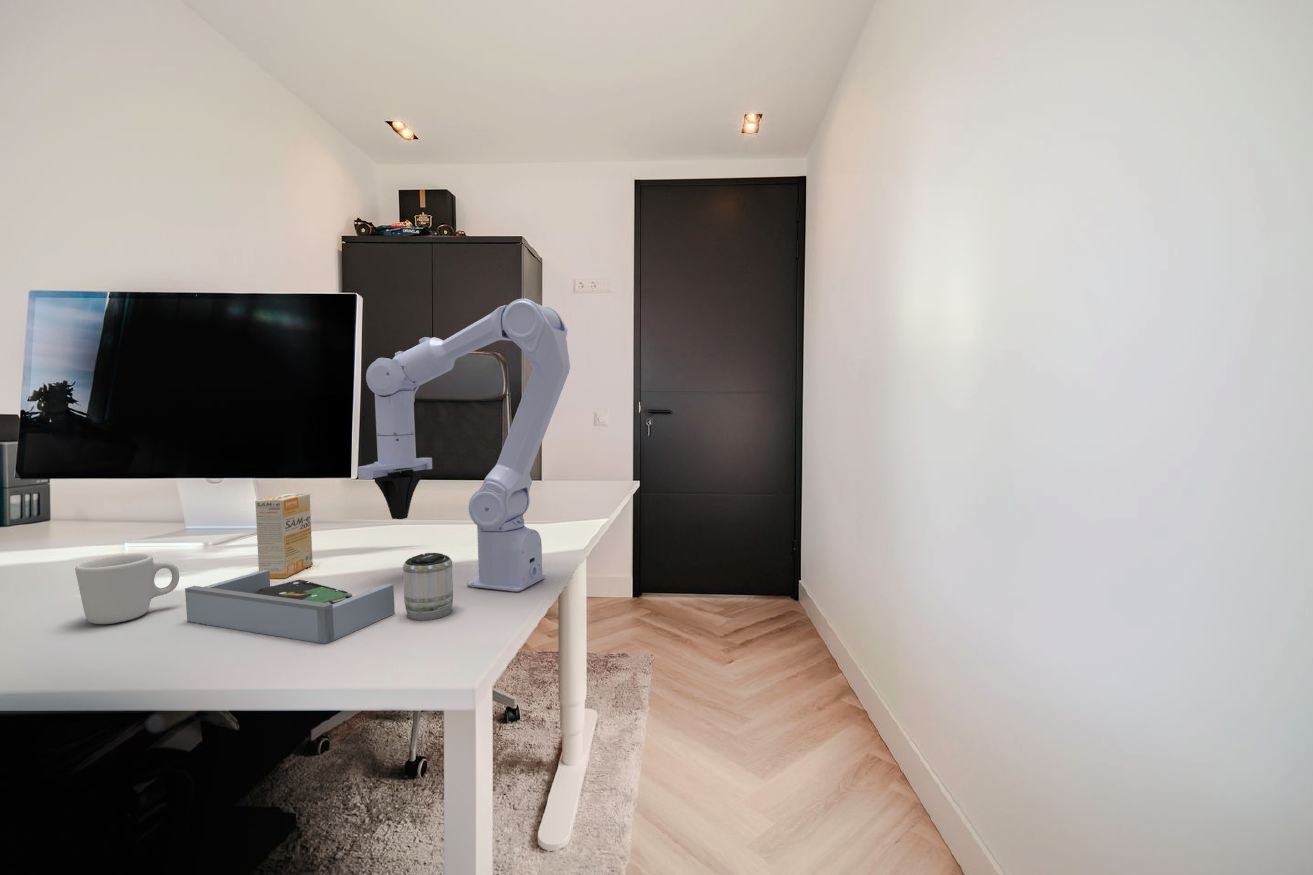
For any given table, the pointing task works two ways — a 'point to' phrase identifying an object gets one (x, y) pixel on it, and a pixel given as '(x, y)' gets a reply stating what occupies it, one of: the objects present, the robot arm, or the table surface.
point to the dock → (284, 610)
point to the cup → (120, 586)
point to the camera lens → (428, 586)
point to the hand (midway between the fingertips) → (399, 518)
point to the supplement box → (284, 534)
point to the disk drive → (306, 592)
